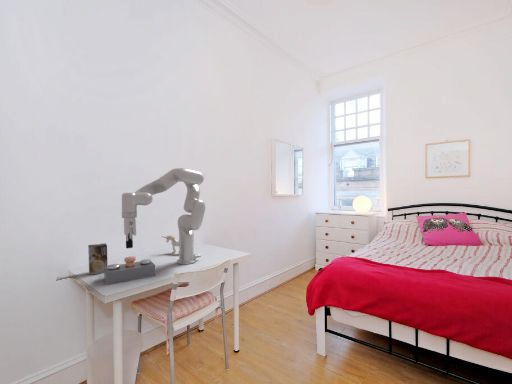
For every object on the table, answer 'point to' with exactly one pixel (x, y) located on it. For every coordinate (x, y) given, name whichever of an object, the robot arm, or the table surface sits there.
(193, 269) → the table surface
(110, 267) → the steel plunger
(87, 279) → the table surface
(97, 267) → the coffee box
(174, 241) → the unicorn figurine
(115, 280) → the box
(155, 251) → the table surface
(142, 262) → the steel plunger
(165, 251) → the table surface
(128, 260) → the peach ball
